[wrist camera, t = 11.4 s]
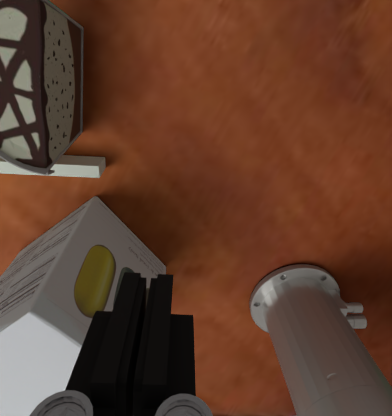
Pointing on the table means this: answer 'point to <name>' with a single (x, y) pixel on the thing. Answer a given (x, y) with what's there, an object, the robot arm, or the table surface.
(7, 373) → the supplement box
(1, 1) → the food container
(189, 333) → the robot arm
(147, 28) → the table surface
